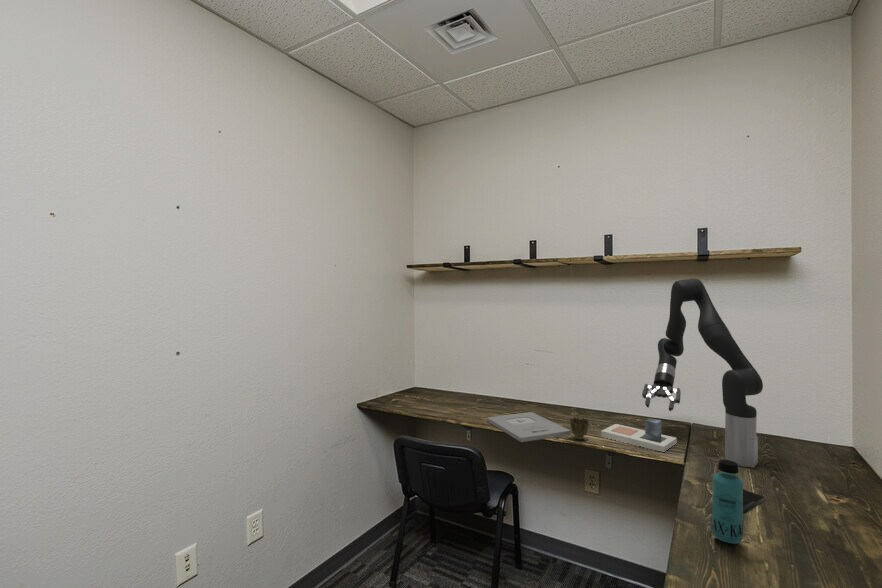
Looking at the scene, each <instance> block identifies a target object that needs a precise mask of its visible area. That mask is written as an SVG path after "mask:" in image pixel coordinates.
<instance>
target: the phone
mask: <svg viewBox="0 0 882 588" xmlns="http://www.w3.org/2000/svg"><path fill="white" fill-rule="evenodd" d="M765 500H766V497H765V496H763V495H761V494H758V493H756V492H755V493H754V492H752V491H749V490H746V489H744V488H743V506H744V507H743V511H744V512H743V514H746V513H747V512H748V510H749V511H750V510H752V509H753V507H754V508H755V507H757V506H759V505H761V503H764V502H765Z"/></svg>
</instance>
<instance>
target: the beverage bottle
mask: <svg viewBox="0 0 882 588" xmlns="http://www.w3.org/2000/svg"><path fill="white" fill-rule="evenodd" d="M717 470H719V471H720V472H717V473H715V474H714V475H713V476H712V498H711V500H712V501H711V516H710V517H711V518H710V519H711V521H710V522H711V525H710V527H711V532H712V535H713V536H714V537H715V538H716V539H718V540H720V541H722V542H725V543H727V544H739V543H742V540H743V535H744V523H743V522H744V520H743V518H744V513H743V512H744V511H743V507H744V506H743V489H744V482H743V480H742V479H741V478H740V477H738V476H737V475H736V474H739V466H738V464H737V463H736V462H733V461H730V460H725V459H720V460H718V466H717Z"/></svg>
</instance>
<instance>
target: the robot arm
mask: <svg viewBox="0 0 882 588" xmlns="http://www.w3.org/2000/svg"><path fill="white" fill-rule="evenodd" d="M669 301H670V303H669V317H668V322H667V326H666V331H665V336H666V337H663V338H660V339H659V341H658V342H657V350H658V351H657V352H658V356H659V358H658V364H657V367H656V371H655V375H654V378H653V379H654V380H653V383H652V385H648V383H645V384H644V386H643V390H642V393H641V395H642V398H643V399H645V402H644V404H645V406H646V408H650V404H651V400H652V399H655V398H656V397H658V398H667V399H668V400H669V405H668V412H672V411H674V409H675V408H674V407H675V404H680V403H681V395H682V393H681V392H682V391H681V388H679V387H677V388H674V383H675V378H676V368H677V363H678V362H677V361H678V360H677V358H676V357H680V356H682V355H683V353H684V350H685V349H684V348H685V347H684V334H685V330H686V327H687V320H686V316H685V315H684V314H683V312H682V305H683V304H684V303H686V302H693V301H694V303H696V305H697V307H698V309H699V318H698V323H697V329H698V330H697V331H698V332H699V334H700V336H701V338H702V340H703V342H704V343H705V344H706V346H707V347H708V348H710V350H712V352H714V353H715V354H717V355H718V356H719V357H720V358H722V359H723V360H724V361H726V363H727V364H728V366H729V367H730V368H731V369H730V370H727V371H725V372H724V374H722V379H721V388H722V389H721V390H722V391H721V392H722V403H723V406H724V411H725V414H724V415H725V416H724V419H725V420H724V422H725V423H724V424H725V427H724V428H725V429H724V430H725V431H724V435H725V436H724V460H730V461H733V462H736V463H737V464H738V467H745V468H753V469H754V468H755V467H756V466H757V465H758V460H759V458H758V457H759V455H758V452H759V449H758V448H759V444H758V442H759V437H758V436H757V415H758V414H757V413H758V412H757V409H756V407H754V406H752V405H749V404H748V403H747V397H748V396H755V395H758V394H761V393H762V392H763V389H764V384H763V380H762V378H761V376H760V373H759V372H758V371H757V370H756V368H755V367H754V366H753V364H752V363H751V362H750V361H749V359H748V358H747V356H745V354H744V353H743V351H742V350H741V348H740V347H739V345H738V343H737V342H736V340H735V339H734V337H733V336H732V334H731V331H730V330H729V328H728V326H727V325H726V323H725V322H724V321H723V319H722V318H721V316H720V314H719V313H718V311H717V309H716V307H715V305H714V303H713V302H712V299H711V297H710V295H709V293H708V291H707V288H706V287H705V285H704V283H703V282H702V281H701V280H700V279H699V278H686V279H680V280H675V281H674V282H673V284H672V285H671V290H670V300H669ZM648 392H649V393H648ZM673 393H674V394H675V398H674V397H673V395H672V394H673Z"/></svg>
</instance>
